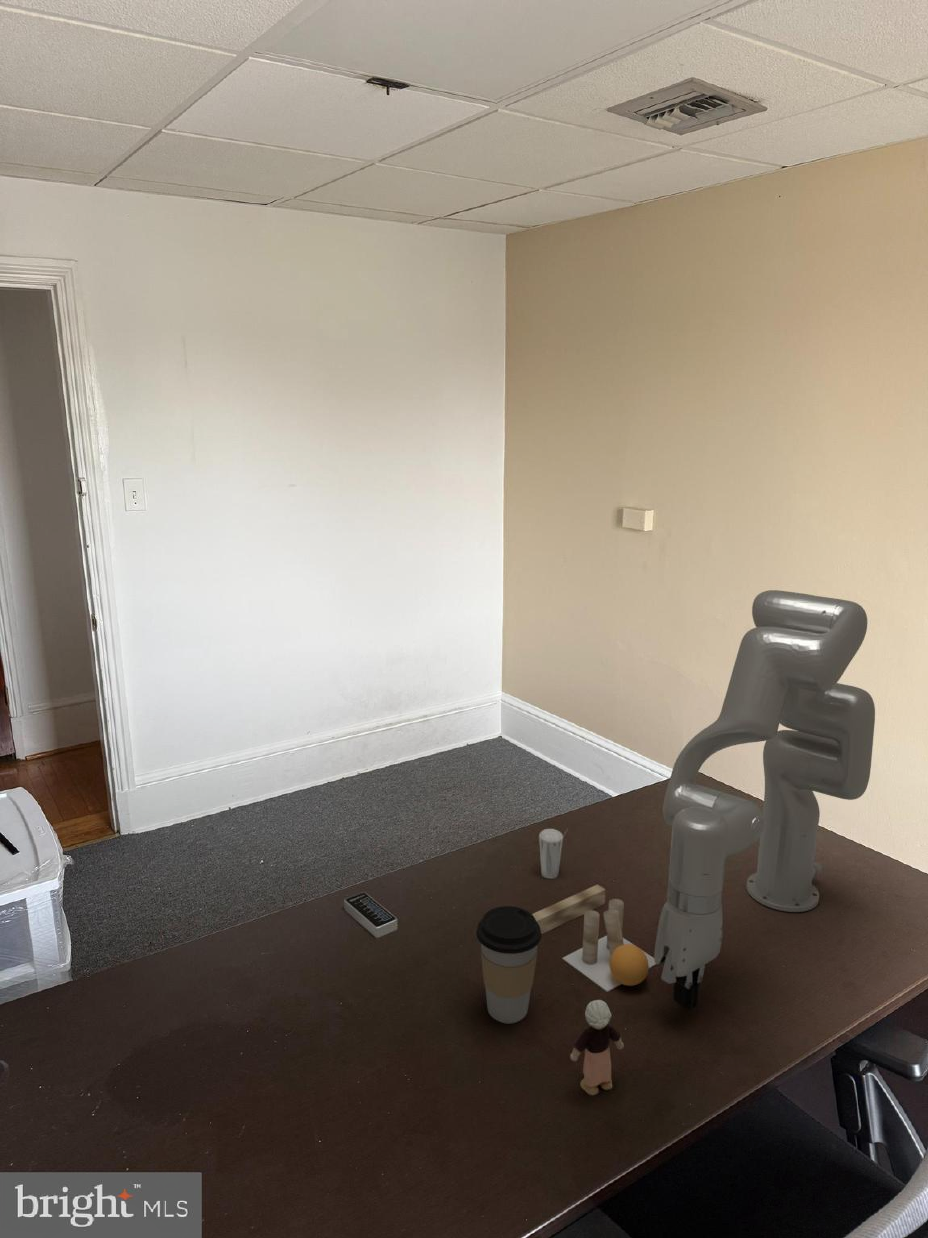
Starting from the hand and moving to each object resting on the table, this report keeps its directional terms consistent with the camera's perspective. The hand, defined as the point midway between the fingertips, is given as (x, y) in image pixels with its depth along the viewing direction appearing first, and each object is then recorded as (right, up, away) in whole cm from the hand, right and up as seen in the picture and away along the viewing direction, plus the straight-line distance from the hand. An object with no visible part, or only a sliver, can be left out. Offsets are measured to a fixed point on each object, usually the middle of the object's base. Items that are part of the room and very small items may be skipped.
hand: (685, 1003), depth 127 cm
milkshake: (-16, +8, +37) cm, 41 cm away
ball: (-7, +3, +6) cm, 10 cm away
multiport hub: (-49, +4, +23) cm, 55 cm away
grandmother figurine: (-16, -5, -13) cm, 21 cm away
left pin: (-12, +2, +12) cm, 17 cm away
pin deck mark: (-9, +2, +12) cm, 15 cm away
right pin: (-8, +2, +15) cm, 17 cm away
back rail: (-17, +4, +22) cm, 28 cm away
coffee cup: (-26, -1, +1) cm, 26 cm away
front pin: (-8, +2, +10) cm, 13 cm away
